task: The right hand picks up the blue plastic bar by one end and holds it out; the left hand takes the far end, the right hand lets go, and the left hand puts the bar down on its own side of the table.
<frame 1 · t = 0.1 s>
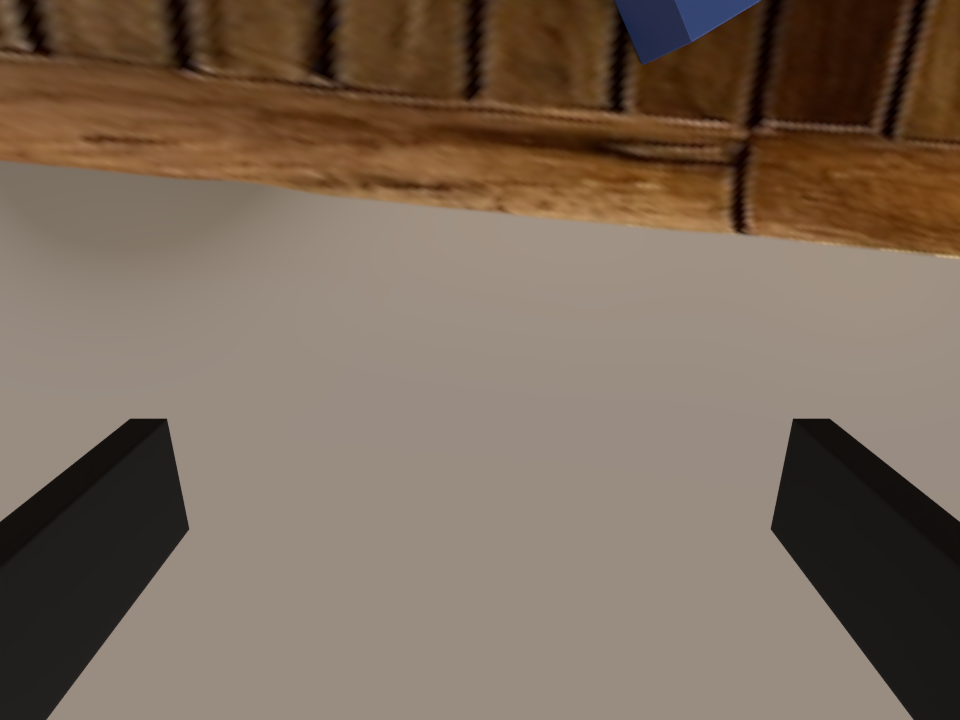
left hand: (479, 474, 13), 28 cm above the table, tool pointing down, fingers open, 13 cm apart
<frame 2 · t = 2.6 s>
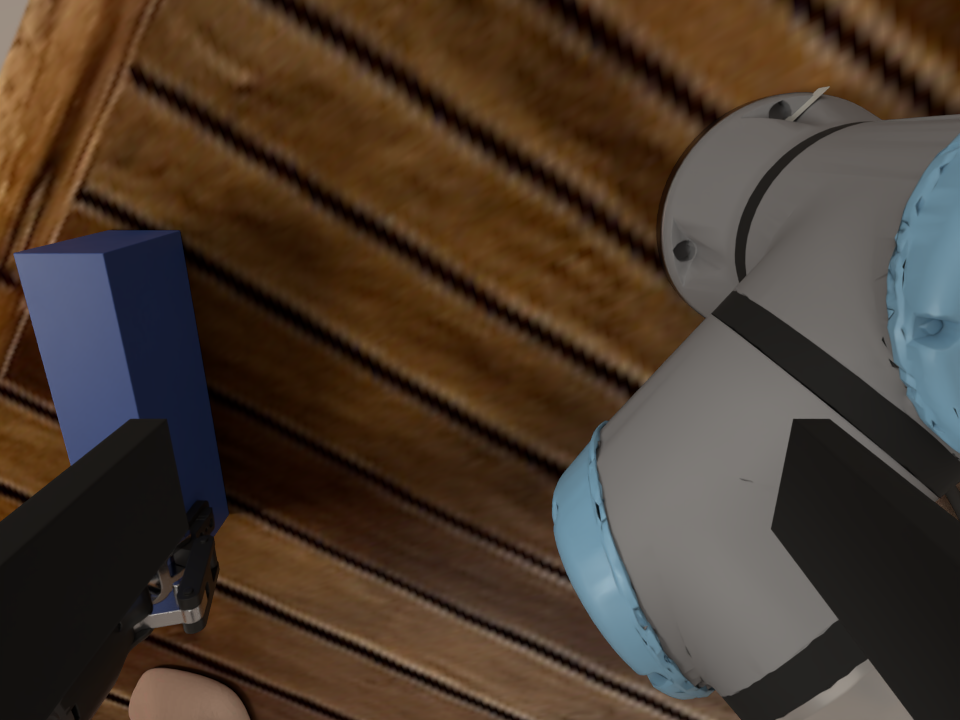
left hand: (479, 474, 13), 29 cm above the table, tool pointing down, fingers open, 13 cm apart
anatomical model: (194, 719, 56), on the table
bar: (174, 385, 44), on the table, touching right hand
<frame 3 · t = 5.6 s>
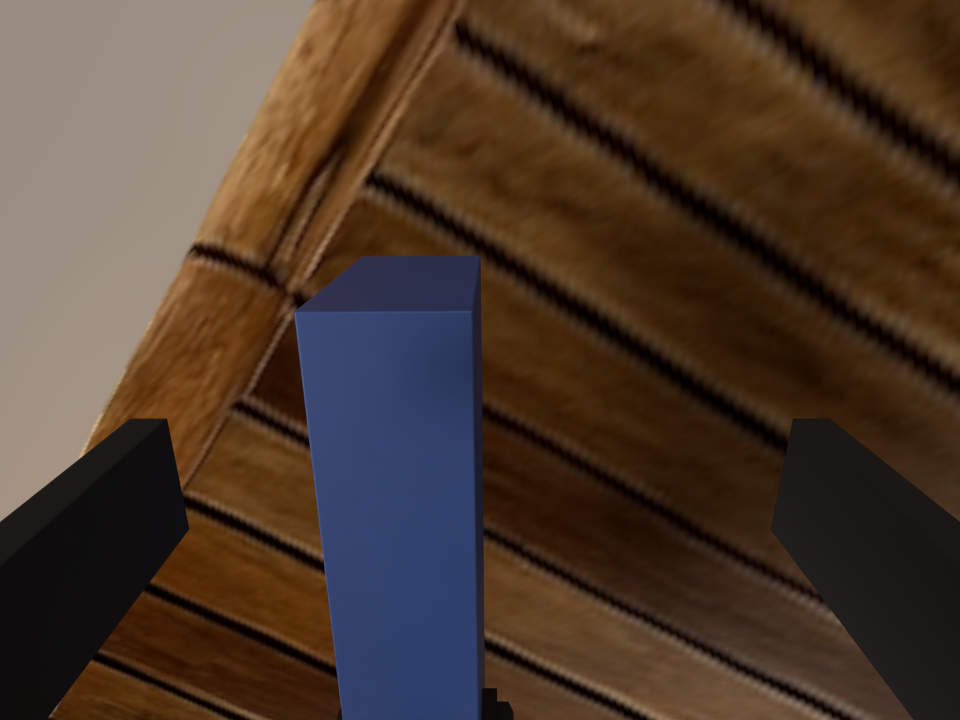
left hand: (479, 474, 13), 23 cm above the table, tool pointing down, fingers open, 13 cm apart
bar: (431, 495, 28), point 10 cm above the table, touching right hand
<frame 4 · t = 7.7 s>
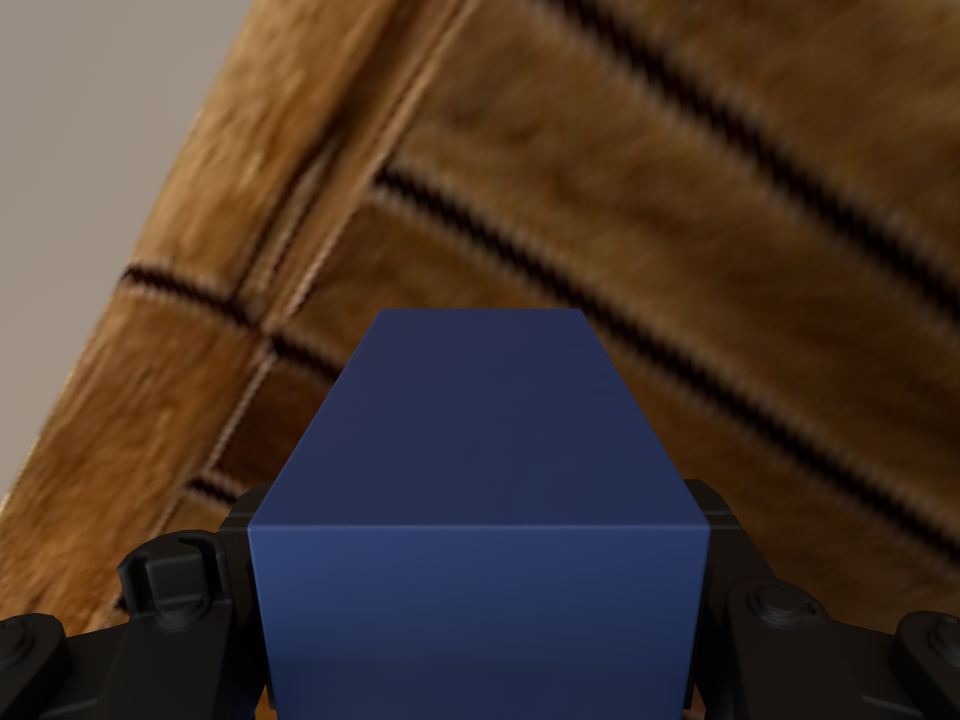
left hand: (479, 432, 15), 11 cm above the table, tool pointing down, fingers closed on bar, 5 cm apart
bar: (480, 665, 18), point 10 cm above the table, touching left hand, right hand
when the right hand's fingers open (14 cm above the table, at t = 8.6 s): bar stays where it is, held by the left hand.
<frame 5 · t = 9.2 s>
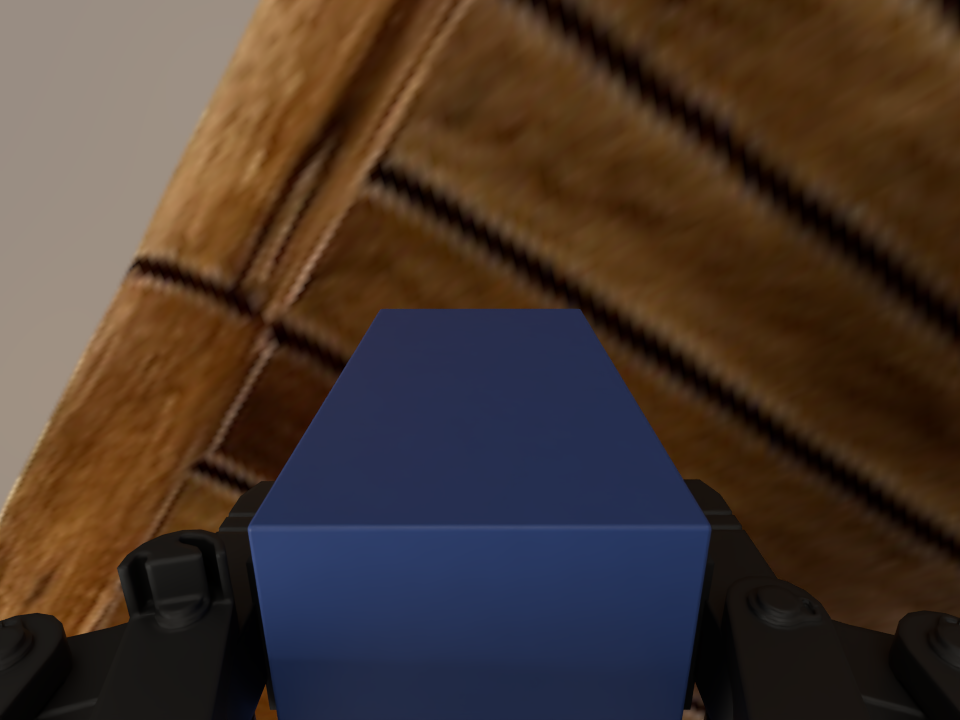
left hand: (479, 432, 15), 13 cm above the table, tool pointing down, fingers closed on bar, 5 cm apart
bar: (480, 665, 18), point 12 cm above the table, touching left hand
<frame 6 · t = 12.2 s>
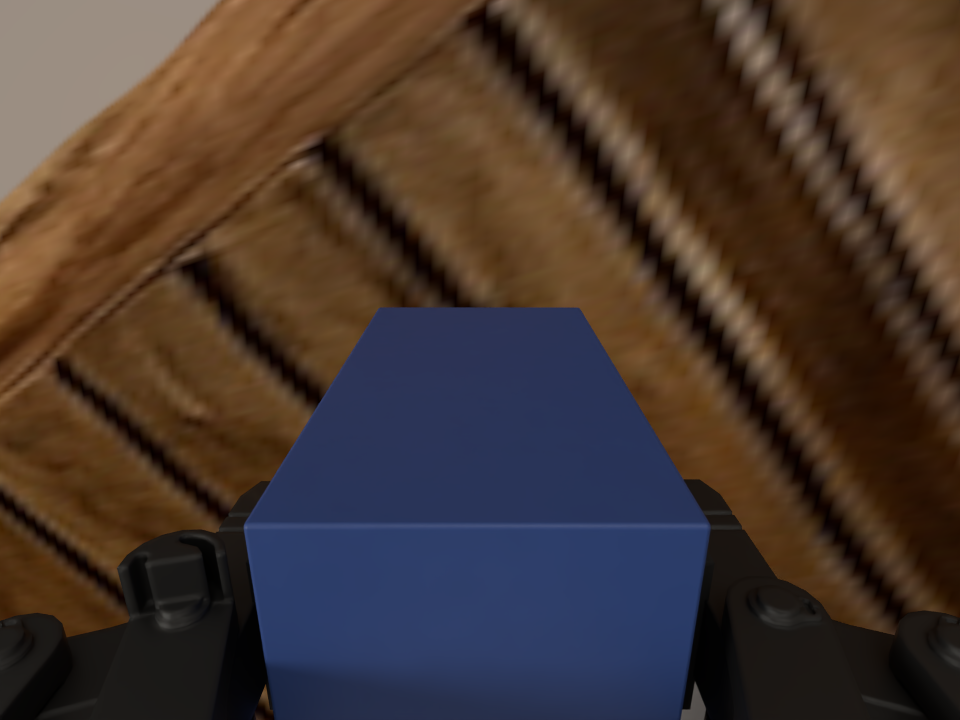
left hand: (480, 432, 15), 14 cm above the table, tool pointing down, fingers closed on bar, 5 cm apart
bar: (479, 665, 18), point 13 cm above the table, touching left hand
when the left hand's fingers open (2 cm above the table, at t = 16.9 s): bar drops 1 cm, on the table.
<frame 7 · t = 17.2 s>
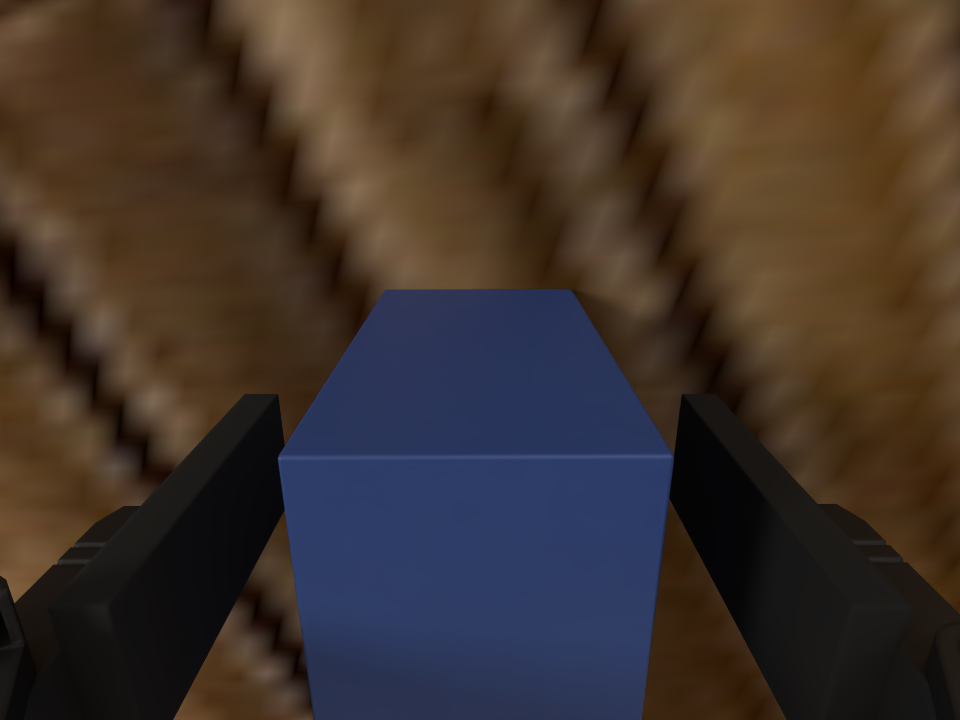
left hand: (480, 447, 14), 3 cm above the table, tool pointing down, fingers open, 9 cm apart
bar: (479, 629, 19), on the table
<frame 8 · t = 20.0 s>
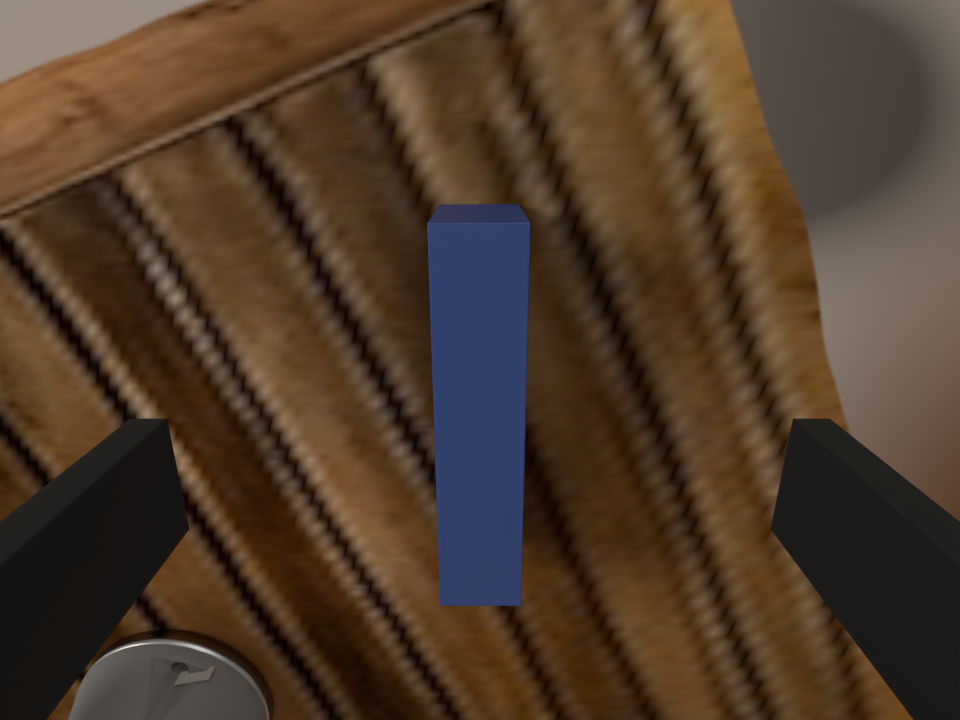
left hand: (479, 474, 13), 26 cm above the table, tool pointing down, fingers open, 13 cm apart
bar: (479, 377, 40), on the table
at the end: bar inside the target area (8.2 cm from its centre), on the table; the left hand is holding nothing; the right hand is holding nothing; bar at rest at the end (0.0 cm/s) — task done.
